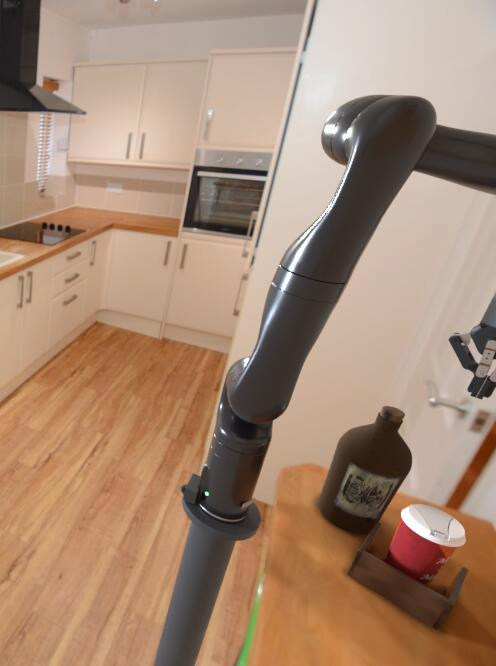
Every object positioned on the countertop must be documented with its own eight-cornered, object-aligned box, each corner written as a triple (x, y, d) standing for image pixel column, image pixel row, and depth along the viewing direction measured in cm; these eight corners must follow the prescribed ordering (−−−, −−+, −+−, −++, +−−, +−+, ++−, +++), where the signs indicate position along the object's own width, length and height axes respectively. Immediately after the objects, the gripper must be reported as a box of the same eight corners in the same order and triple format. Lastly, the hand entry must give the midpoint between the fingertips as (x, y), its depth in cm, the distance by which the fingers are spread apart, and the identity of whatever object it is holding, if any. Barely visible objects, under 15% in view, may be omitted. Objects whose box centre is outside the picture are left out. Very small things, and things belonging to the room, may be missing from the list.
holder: (346, 573, 79) (358, 550, 76) (365, 544, 84) (377, 521, 82) (437, 630, 70) (454, 605, 68) (452, 593, 76) (468, 569, 73)
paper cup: (436, 609, 73) (476, 549, 67) (376, 585, 77) (408, 526, 71) (426, 571, 79) (462, 513, 73) (370, 551, 83) (400, 493, 77)
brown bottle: (312, 486, 97) (352, 387, 86) (375, 506, 92) (426, 404, 81) (314, 521, 89) (359, 417, 78) (383, 545, 84) (441, 437, 73)
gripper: (464, 294, 72) (419, 386, 79) (596, 321, 62) (531, 424, 70) (474, 283, 76) (431, 372, 84) (599, 308, 67) (538, 406, 74)
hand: (477, 396), depth 77 cm, fingers closed
